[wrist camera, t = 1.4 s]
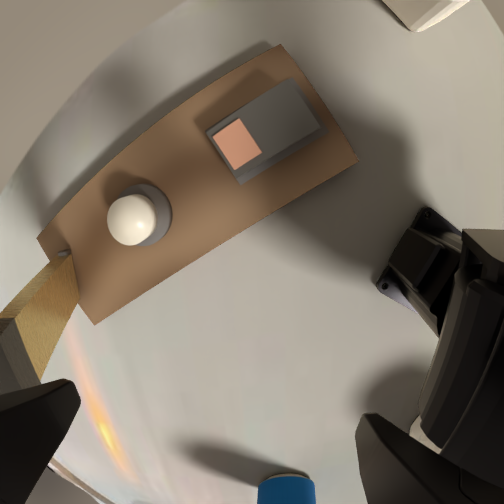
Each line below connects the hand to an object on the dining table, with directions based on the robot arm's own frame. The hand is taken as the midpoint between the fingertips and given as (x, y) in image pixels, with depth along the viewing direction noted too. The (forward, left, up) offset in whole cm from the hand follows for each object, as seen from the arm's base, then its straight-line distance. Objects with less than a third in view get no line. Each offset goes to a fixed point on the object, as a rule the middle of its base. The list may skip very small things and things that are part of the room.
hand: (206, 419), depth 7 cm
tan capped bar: (+11, +6, -10) cm, 16 cm away
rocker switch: (+3, -8, -10) cm, 13 cm away
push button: (+7, -1, -10) cm, 12 cm away
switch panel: (+6, -2, -12) cm, 14 cm away
